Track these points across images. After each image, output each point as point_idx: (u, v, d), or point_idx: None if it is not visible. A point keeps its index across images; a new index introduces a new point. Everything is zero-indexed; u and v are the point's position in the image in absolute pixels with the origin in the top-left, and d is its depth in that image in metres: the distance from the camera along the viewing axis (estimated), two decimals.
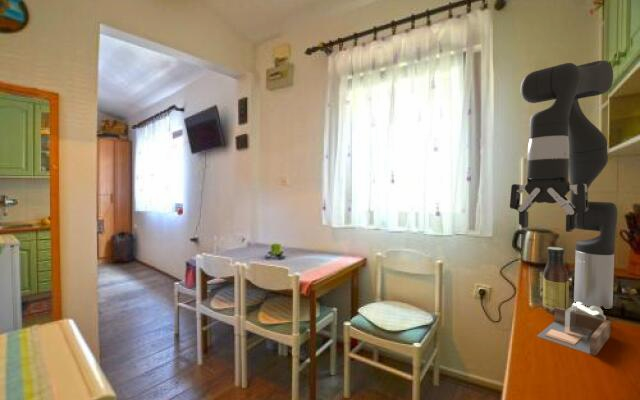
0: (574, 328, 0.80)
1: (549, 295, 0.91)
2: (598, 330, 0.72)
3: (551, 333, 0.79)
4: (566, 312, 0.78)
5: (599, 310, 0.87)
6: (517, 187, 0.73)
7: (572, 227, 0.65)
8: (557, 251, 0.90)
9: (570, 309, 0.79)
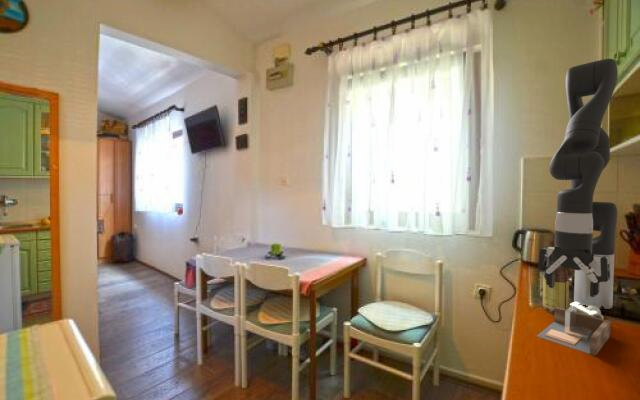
0: (574, 328, 0.80)
1: (549, 295, 0.91)
2: (598, 330, 0.72)
3: (551, 333, 0.79)
4: (566, 312, 0.78)
5: (597, 310, 0.88)
6: (545, 251, 0.83)
7: (595, 293, 0.75)
8: None
9: (570, 309, 0.79)
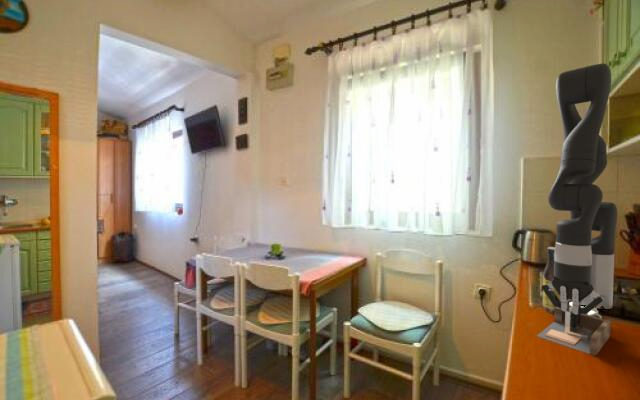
0: (574, 328, 0.79)
1: None
2: (598, 330, 0.72)
3: (551, 333, 0.79)
4: (566, 312, 0.78)
5: (594, 310, 0.88)
6: (547, 287, 0.83)
7: (576, 324, 0.78)
8: None
9: (570, 309, 0.79)
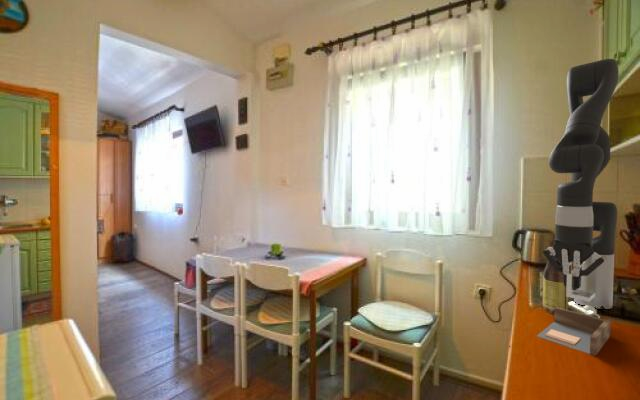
0: (576, 291, 0.79)
1: (549, 295, 0.91)
2: (598, 330, 0.72)
3: (551, 333, 0.79)
4: (568, 274, 0.78)
5: (593, 309, 0.88)
6: (548, 251, 0.83)
7: (577, 287, 0.78)
8: None
9: (572, 272, 0.79)
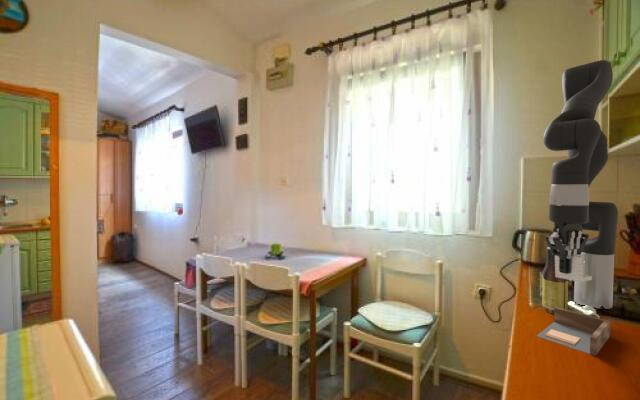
0: None
1: (548, 295, 0.91)
2: (598, 330, 0.72)
3: (551, 333, 0.79)
4: (580, 257, 0.72)
5: (592, 310, 0.88)
6: None
7: None
8: None
9: None
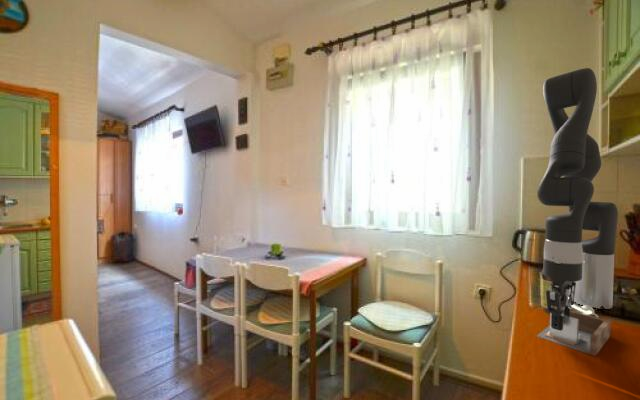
0: None
1: None
2: (598, 330, 0.72)
3: None
4: (577, 321, 0.73)
5: (591, 309, 0.88)
6: None
7: None
8: None
9: (567, 316, 0.75)
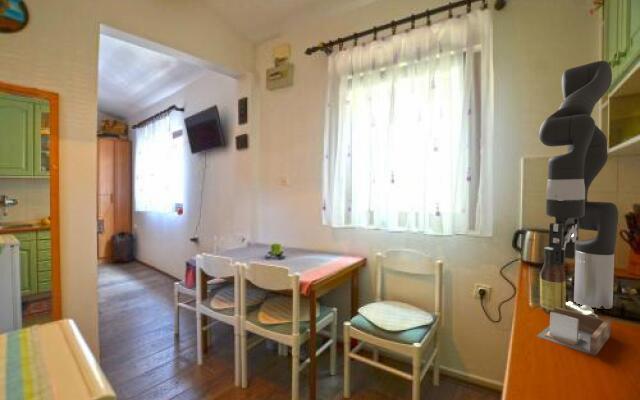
0: None
1: (546, 294, 0.91)
2: (598, 330, 0.72)
3: None
4: (577, 321, 0.73)
5: (590, 309, 0.88)
6: None
7: None
8: None
9: (567, 316, 0.75)
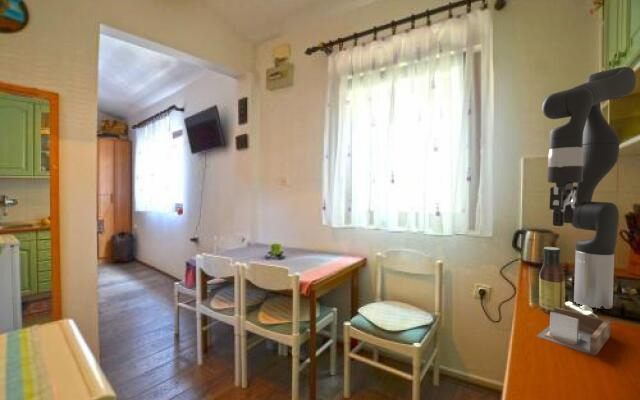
0: None
1: (545, 294, 0.92)
2: (598, 330, 0.72)
3: None
4: (577, 321, 0.73)
5: (590, 310, 0.88)
6: None
7: None
8: (552, 251, 0.90)
9: (567, 316, 0.75)
